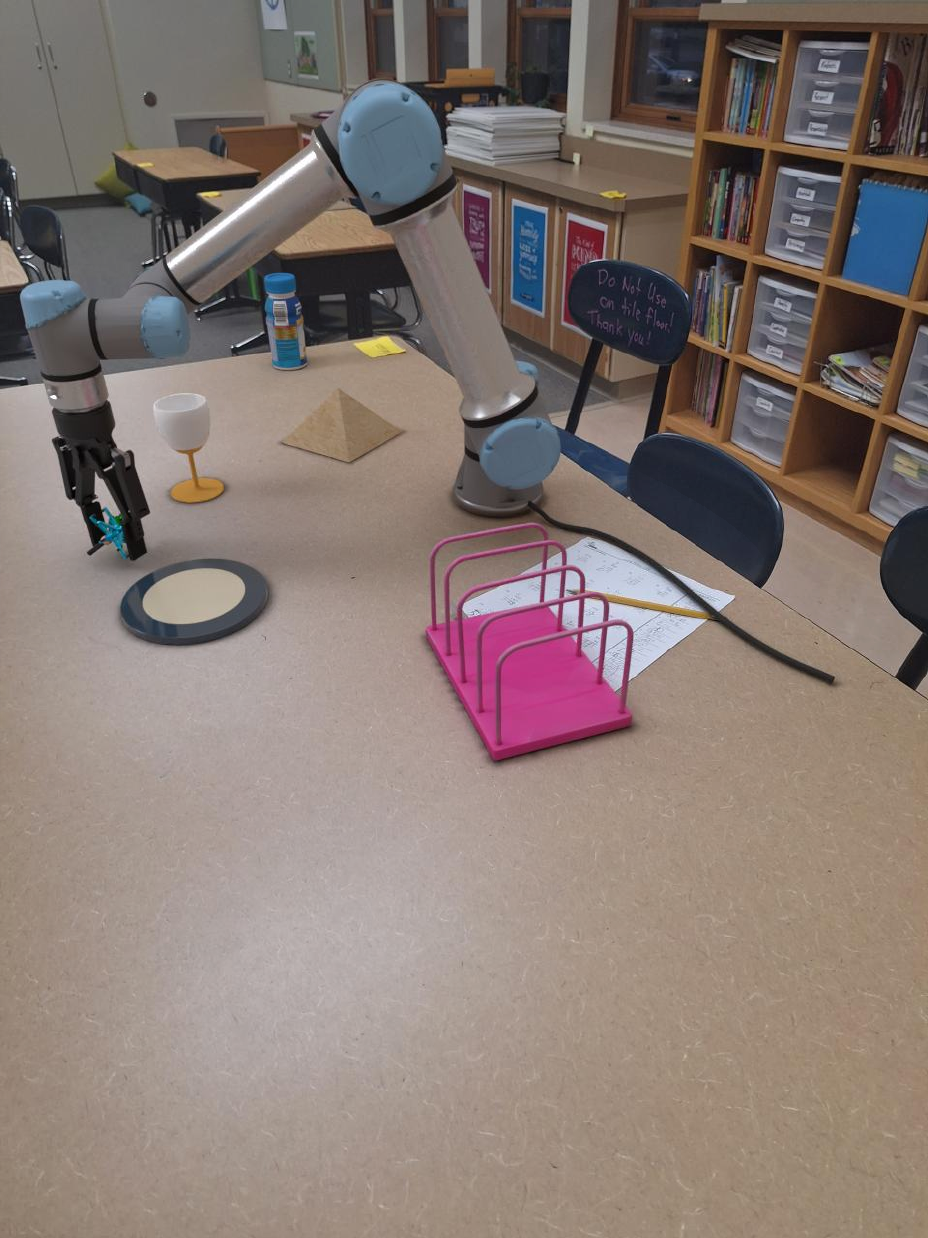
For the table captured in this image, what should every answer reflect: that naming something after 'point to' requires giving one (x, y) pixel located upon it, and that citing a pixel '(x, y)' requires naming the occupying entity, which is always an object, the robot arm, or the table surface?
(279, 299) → the beverage bottle
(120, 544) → the spiky blue green toy
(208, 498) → the cup
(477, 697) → the file sorter
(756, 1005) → the table surface
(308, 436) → the model pyramid
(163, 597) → the plate
